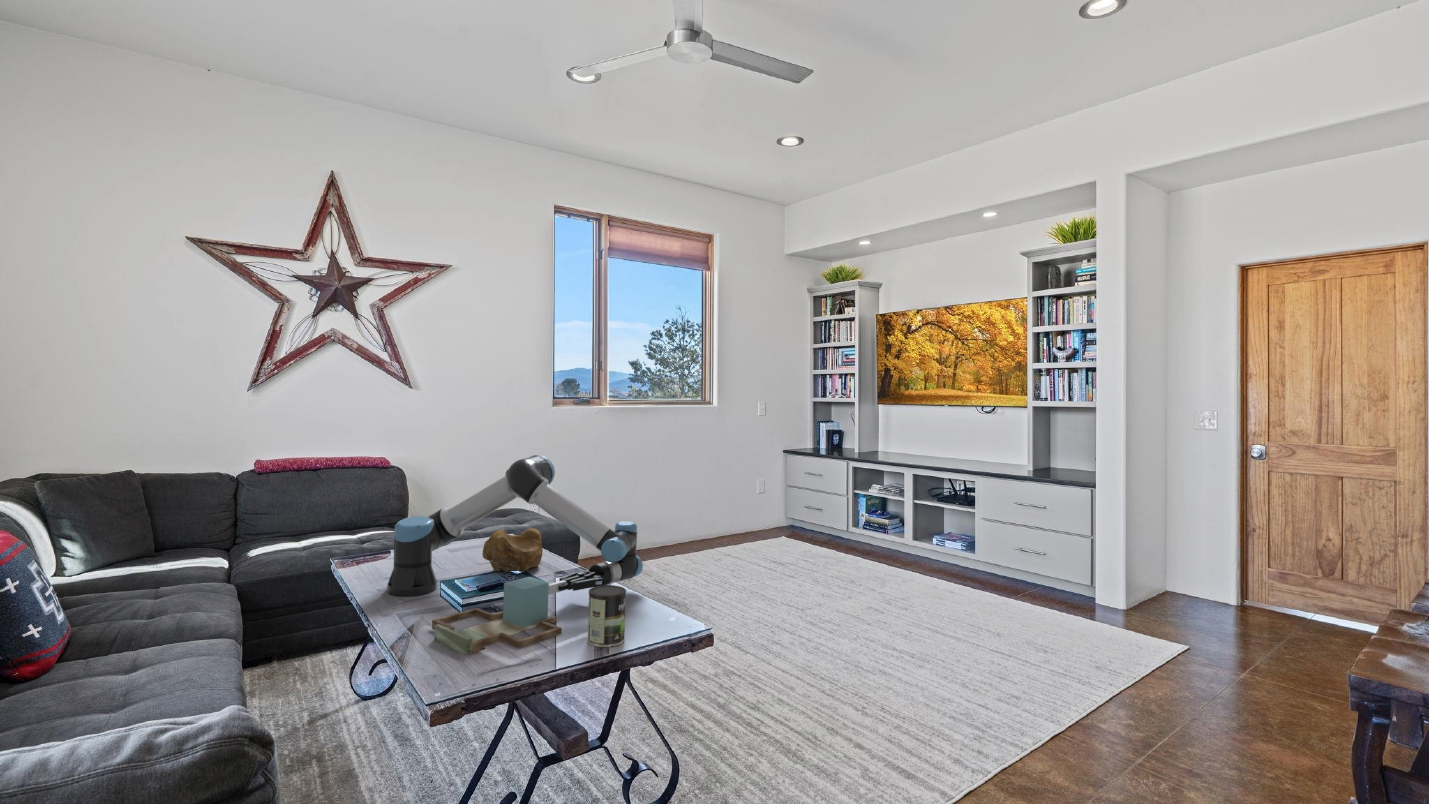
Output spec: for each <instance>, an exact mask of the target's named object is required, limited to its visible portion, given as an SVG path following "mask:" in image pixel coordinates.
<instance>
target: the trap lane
mask: <svg viewBox="0 0 1429 804" xmlns="http://www.w3.org/2000/svg"><path fill="white" fill-rule="evenodd" d="M473 616H476V617H477V616H478V617H480V618H482V619H485V620H488V621H487V622H483V623H480V624H477V625H473V626H470V627H467V628H465V629H461V630H457V631H456V630H455V626H454V625H451V624H448V623H451V622H454V621H458V620H462V619H465V618H469V617H473ZM554 623H557V616H555V615H551V616H549V617H548V618H545V619H542V620H539V621H537V623H536V624H533V625H530V626H527V627H524V628H522V627H519V626H516V625H514V624H511V623H509V622H506V621H503V610H502V611H499V612H494V613H491V612H489V611H486V610H484V609H481V608H479V607H474V608H471V609H467V610H464V611H460V612H456V613H453V614H449V615H446V616H442V617H438V618H435V619H431V629H432V630H433V631H434V638H433V639H434V641H436V642H438V643H440V644H443V645H445V646H447V647H449V648H452V649H453V650H456V651H458V652H460V653H462V654H464V655H466V656H468V655H471V654H474V653H477V652H481V651H483V650H486V649H487V648H485V646H488V645H491V644H494V643H498V642H499V641H500V642H503V643H506V644H508V645H511V646H513V647H515V648H518V649H520V648H523V647H526V646H528V645H531V644H535V643H537V642H540V641H543V640H546V639H549V638H552V637H555V636H558V635H561V634H562V631H563V628H562V627H561V626H558V625H555V624H554ZM536 627H538V628H540V629H543V630H545V631H542V632H539V633H537V634H533V635H530V636H527V637H525V638H521V639H519V638H516V637H514V636H513V635H514V634H518V633H522V632H524V631H527V630H530V629H533V628H536Z"/></svg>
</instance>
